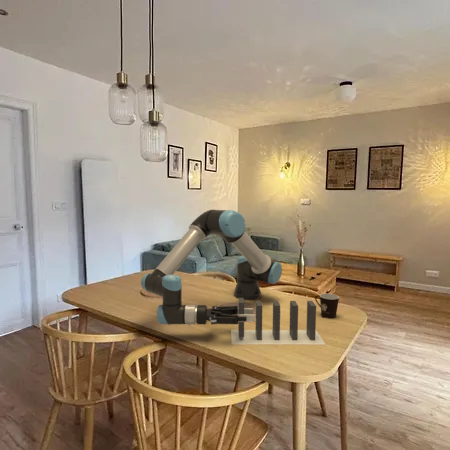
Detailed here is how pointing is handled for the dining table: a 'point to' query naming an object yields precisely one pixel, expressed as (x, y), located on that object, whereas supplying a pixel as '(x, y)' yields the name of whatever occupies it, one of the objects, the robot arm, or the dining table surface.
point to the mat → (269, 339)
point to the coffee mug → (328, 305)
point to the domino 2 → (258, 320)
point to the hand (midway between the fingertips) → (254, 314)
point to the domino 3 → (276, 320)
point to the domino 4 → (293, 320)
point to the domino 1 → (241, 311)
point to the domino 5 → (311, 320)
